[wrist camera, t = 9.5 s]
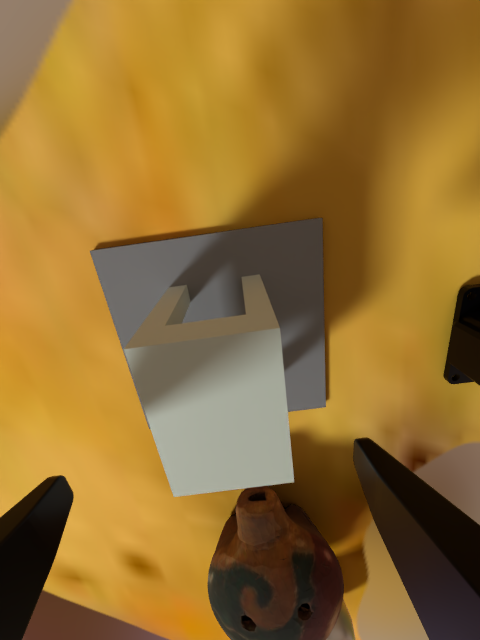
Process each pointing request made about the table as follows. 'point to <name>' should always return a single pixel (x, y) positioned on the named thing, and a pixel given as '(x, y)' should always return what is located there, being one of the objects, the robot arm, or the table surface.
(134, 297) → the mat
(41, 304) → the table surface
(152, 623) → the table surface
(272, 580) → the painted clay ocarina
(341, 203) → the table surface
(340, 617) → the plastic bottle
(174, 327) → the notched white block
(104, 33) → the table surface
